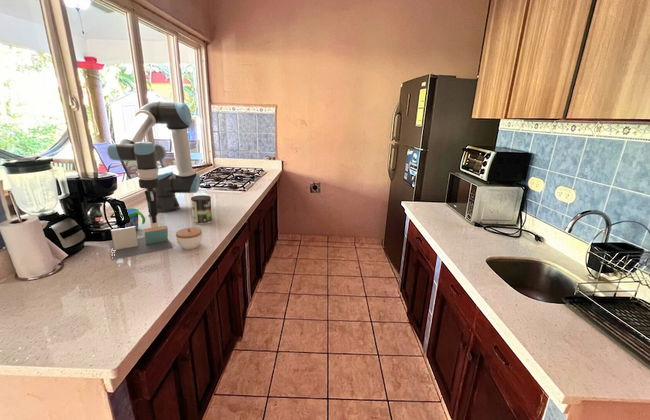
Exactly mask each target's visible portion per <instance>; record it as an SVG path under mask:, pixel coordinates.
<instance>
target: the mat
mask: <svg viewBox="0 0 650 420" xmlns="http://www.w3.org/2000/svg"><path fill="white" fill-rule="evenodd" d="M137 240H138V246H136V247H130V248H125V249H119V250H116V251H115V253H113V256H111V254H112V253H111V254H110V260H111V259H112V257H113V259H112V260H111V261H115V260H119V259H124V258H130V257H135V256H140V255H147V254H151V253H156V252H162V251H167V250H171V249H174V247H173V245H172V244H171V241H170V240H169V239H168V241H164V242H158V243H153V244H147V245H146V243H145V236H144V237H137ZM108 245H109V249H110V248H111V249H112V248H113V250H114V246H113V242H109V244H108ZM112 252H114V251H112ZM114 254H115V256H114Z"/></svg>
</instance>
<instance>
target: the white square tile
mask: <svg viewBox="0 0 650 420" xmlns="http://www.w3.org/2000/svg"><path fill="white" fill-rule="evenodd" d="M110 233H111V239H112V243H113V246H114V250H119V249H125V248H130V247H136V246H138V240H137V238H138V235H137V230H136V227H135V226H132V227H125V228H120V227H118V228H113V229H112V228H111V229H110Z"/></svg>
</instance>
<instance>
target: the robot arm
mask: <svg viewBox="0 0 650 420" xmlns="http://www.w3.org/2000/svg"><path fill="white" fill-rule="evenodd" d="M191 113H192V112H191V110H190V108H189V106H188V105H187V104H186V103H185V102H178V101H157V100H155V101H151V102H148V103H146V104H144V105H143V106H141V107H140V108H139V109H138V110H137V112H136V113H135V115H134V116H135V117H134V118H135V119H133V121H132V123H131V124H130V126H129V127H128V129H127V130H126V132H125V133H124V135H123V136H122V137H121V139H120V141H118V143H110V144H108V146H107V155H108V157H109V159H111V160H112V161H120V162H135V163H136V169H137V170H136V171H135V174H137V177H138V186H139V188H140V189H145V190H144V195H145V200H146V202H147V203H146V204H147V208H148V211H147V212H148V215H147V216H148V217H149V222H150V228H153V227H159V222H158V214H159V213H171V212H174V211H177V210H179V209H180V206H181V205H180V202H179V201H178V199H177V197H176V194H195V193H197V192H198V191H199V188H200V183H201V177H200V174H198V173H197V172H196V170H195V169H194V168H193V163H192V162H193V161H192V157H191V150H190V149H191V148H190V144H189V142H190V141H189V136H188V129H189V128H190V125H192V114H191ZM158 124H161V125H164V124H165V127H166V129H167V130H169V131H170V137H171V142H172V143H171V144H172V149H173V155H174V161H175V165H176V166H175V167H176V170H175V172H173V171H172V170H169V171H167V170H166V171H160V172H159V171H158V167H157V166H158V165H157V162H160V161H162V160H163V159H165V158H166V156H167V150H166V149H165V147H164V146H163V145H161V144H159V143H154V142H152V141H143V140H145V138H146V135H148V132H149V131H150V129H151V128H152V127H154V126H155V125H158Z"/></svg>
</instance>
